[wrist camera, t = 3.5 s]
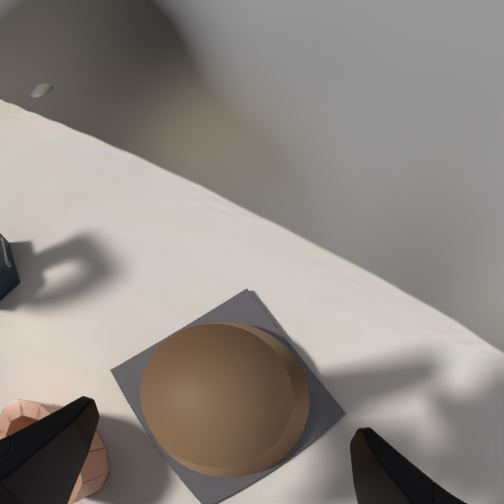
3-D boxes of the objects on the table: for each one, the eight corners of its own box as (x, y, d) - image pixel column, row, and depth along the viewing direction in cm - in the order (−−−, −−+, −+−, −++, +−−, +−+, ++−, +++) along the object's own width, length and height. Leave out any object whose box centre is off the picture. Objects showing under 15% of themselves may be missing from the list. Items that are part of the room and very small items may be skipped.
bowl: (127, 479, 12) (103, 493, 9) (60, 502, 10) (31, 513, 6) (75, 391, 15) (44, 384, 12) (17, 421, 13) (-15, 417, 9)
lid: (335, 413, 16) (485, 400, 5) (206, 499, 12) (174, 620, 1) (245, 297, 19) (266, 148, 9) (119, 373, 16) (-18, 305, 5)
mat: (343, 413, 16) (346, 413, 15) (206, 505, 12) (205, 507, 12) (246, 290, 20) (246, 288, 20) (112, 370, 16) (110, 369, 16)
